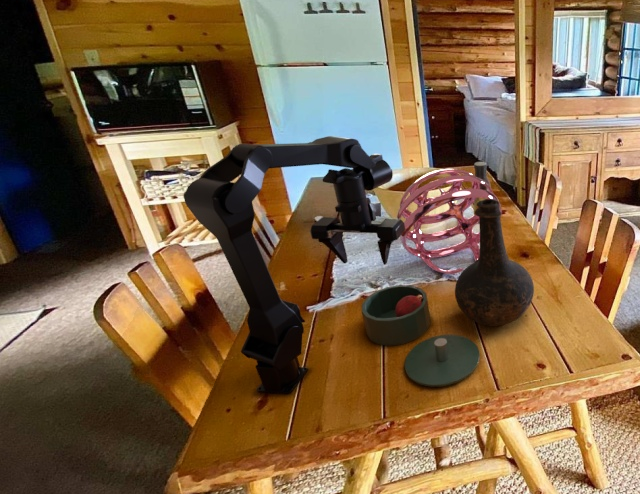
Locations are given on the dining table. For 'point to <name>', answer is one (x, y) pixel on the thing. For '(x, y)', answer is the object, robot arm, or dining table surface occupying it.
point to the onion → (408, 305)
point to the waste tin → (394, 316)
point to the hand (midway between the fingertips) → (365, 263)
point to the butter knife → (318, 218)
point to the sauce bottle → (481, 173)
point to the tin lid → (442, 360)
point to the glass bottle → (493, 276)
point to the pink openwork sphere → (442, 214)
